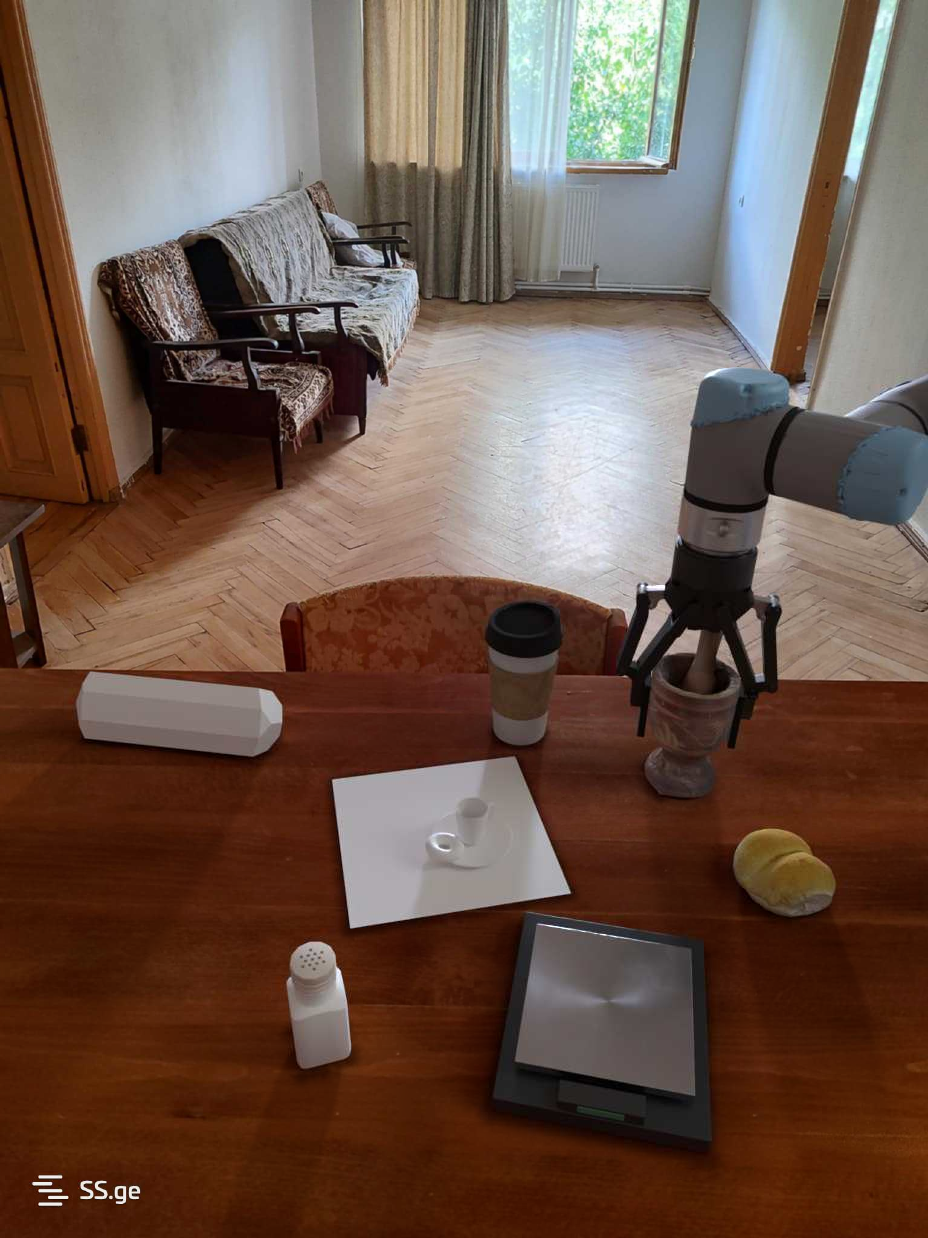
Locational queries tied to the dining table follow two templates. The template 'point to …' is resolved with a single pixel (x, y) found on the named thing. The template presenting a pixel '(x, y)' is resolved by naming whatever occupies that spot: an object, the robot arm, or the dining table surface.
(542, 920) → the scale
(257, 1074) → the dining table surface
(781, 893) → the bread roll
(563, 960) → the scale pan
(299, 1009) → the salt shaker
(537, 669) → the coffee cup
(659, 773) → the mortar and pestle
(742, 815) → the dining table surface
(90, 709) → the crystal
